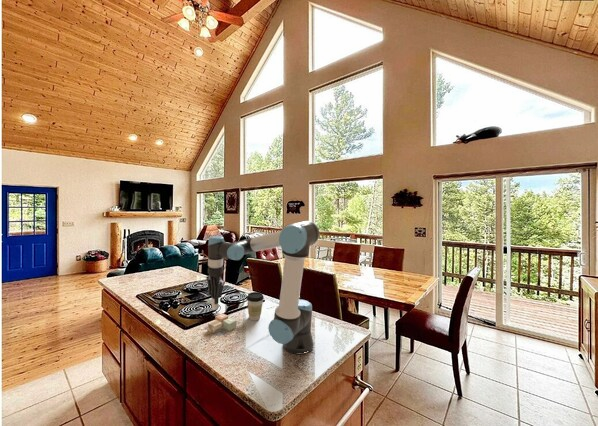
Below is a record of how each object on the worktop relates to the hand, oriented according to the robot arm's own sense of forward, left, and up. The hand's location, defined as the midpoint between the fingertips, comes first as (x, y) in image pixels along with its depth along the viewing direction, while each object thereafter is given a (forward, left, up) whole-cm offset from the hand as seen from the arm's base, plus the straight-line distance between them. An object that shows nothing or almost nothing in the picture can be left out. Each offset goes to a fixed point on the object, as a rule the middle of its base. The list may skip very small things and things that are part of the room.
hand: (214, 309), depth 151 cm
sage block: (-4, -7, -12) cm, 14 cm away
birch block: (0, 0, -12) cm, 12 cm away
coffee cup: (-6, -24, -13) cm, 28 cm away
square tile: (0, -4, -13) cm, 13 cm away
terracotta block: (+3, -7, -12) cm, 14 cm away
